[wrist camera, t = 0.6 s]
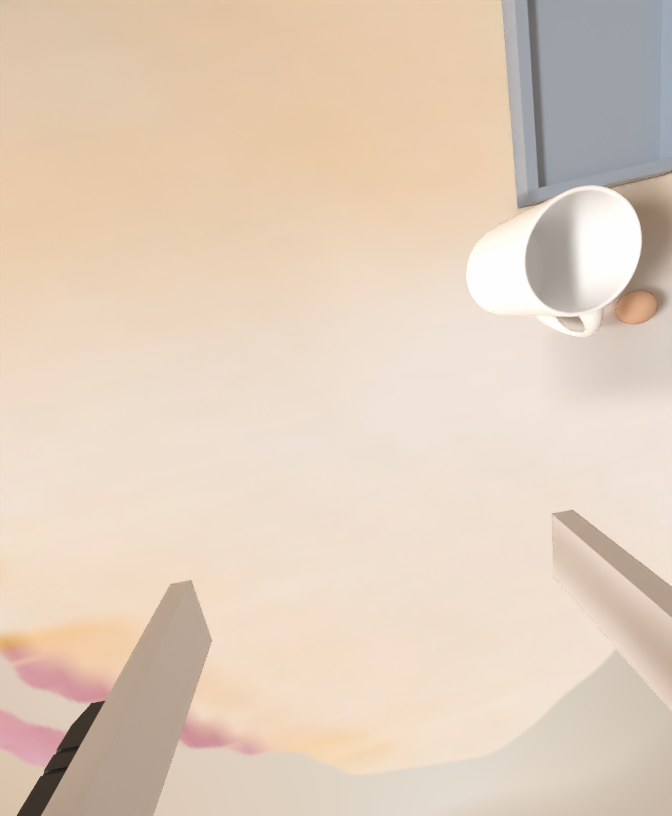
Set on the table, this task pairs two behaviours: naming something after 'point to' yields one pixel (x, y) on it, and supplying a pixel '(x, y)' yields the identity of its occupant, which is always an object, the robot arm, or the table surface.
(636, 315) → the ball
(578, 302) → the mug
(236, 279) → the table surface
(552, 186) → the tray
